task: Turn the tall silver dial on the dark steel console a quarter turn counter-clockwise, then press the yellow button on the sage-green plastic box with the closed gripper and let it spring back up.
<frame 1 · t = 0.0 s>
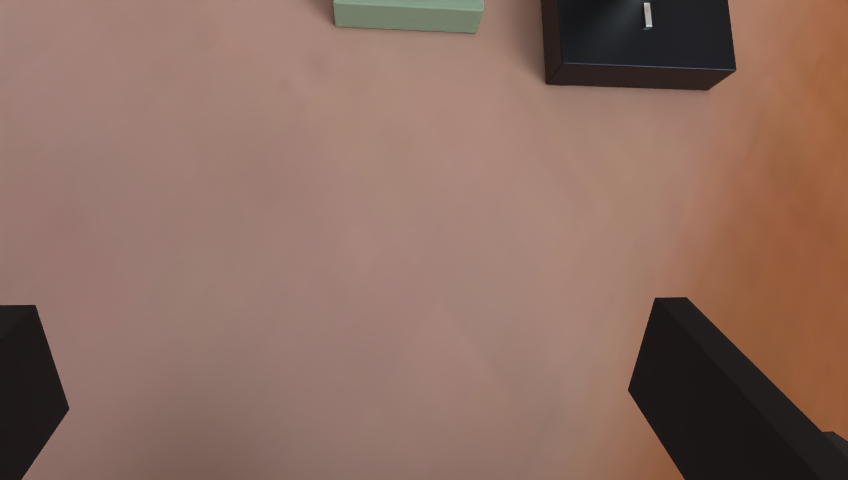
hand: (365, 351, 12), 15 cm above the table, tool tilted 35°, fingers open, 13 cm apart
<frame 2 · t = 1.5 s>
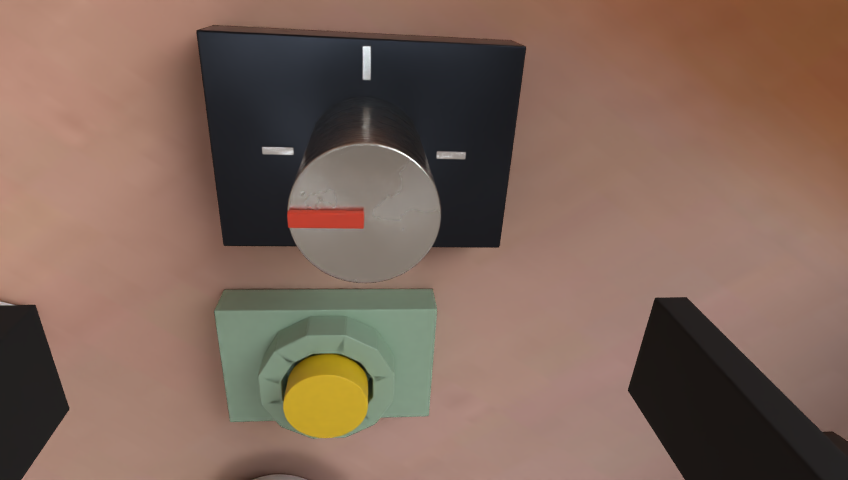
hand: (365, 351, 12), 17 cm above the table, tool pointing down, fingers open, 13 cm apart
console: (366, 137, 27), on the table
dial: (365, 181, 21), point 6 cm above the table, hinge at 0.0°
start button: (327, 396, 28), point 4 cm above the table, slide at 0.1 cm
button box: (332, 344, 32), on the table
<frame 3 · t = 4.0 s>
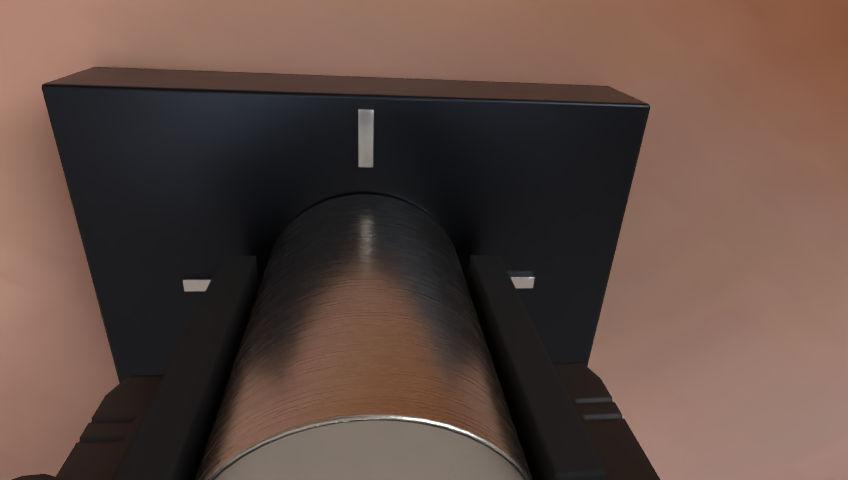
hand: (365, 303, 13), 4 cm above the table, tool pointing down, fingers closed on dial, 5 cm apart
console: (365, 240, 17), on the table
dial: (365, 380, 11), point 6 cm above the table, hinge at 0.0°, touching gripper
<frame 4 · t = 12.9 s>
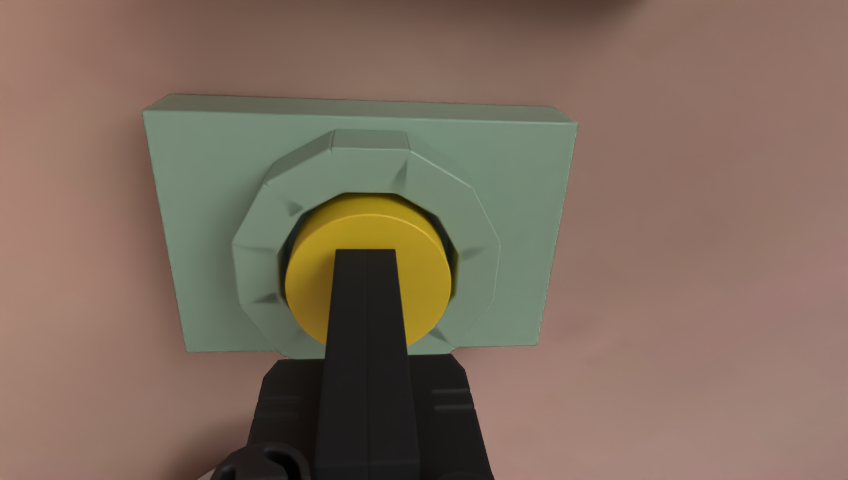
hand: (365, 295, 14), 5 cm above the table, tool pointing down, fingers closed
start button: (369, 273, 15), point 4 cm above the table, slide at -0.5 cm, touching gripper
button box: (368, 217, 18), on the table
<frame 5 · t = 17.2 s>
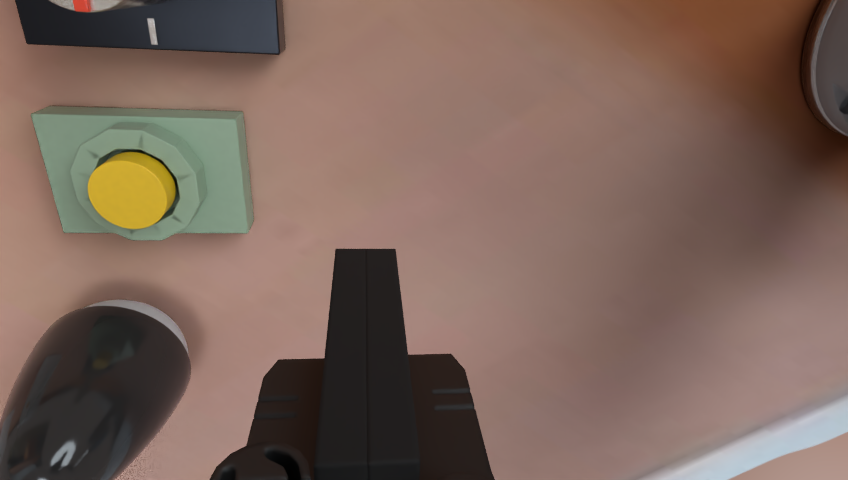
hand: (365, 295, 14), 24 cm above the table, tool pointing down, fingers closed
start button: (133, 190, 32), point 4 cm above the table, slide at 0.1 cm
pump dispenser: (136, 333, 42), on the table
button box: (158, 167, 36), on the table
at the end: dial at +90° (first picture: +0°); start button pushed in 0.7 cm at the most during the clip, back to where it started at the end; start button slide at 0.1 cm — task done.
